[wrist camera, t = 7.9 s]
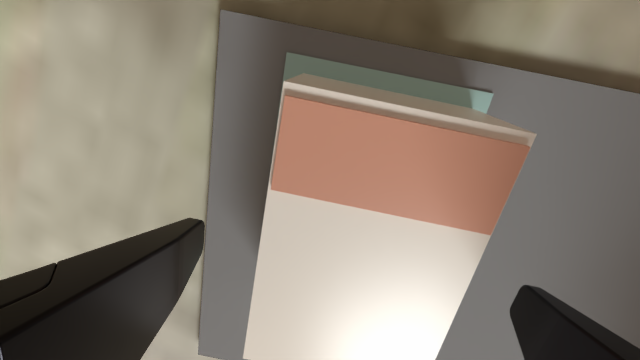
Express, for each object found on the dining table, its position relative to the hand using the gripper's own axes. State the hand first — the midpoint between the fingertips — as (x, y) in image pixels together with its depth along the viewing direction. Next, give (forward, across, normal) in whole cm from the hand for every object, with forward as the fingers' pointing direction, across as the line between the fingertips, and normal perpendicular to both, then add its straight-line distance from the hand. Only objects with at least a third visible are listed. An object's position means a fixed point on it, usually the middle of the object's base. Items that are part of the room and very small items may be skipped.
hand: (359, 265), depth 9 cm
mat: (+5, -4, +2) cm, 7 cm away
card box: (+4, 0, 0) cm, 4 cm away
